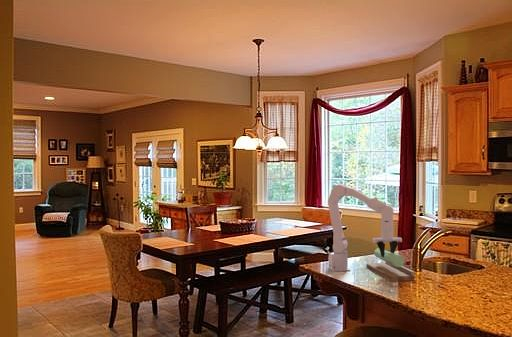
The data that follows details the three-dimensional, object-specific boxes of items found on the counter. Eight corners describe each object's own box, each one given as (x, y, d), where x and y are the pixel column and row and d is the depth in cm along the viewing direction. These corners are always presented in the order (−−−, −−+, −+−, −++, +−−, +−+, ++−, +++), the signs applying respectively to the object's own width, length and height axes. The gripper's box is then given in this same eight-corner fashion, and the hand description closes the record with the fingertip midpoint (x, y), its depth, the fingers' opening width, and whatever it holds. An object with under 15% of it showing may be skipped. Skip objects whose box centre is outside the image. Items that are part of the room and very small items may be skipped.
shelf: (390, 281, 209) (390, 272, 209) (366, 267, 236) (366, 259, 236) (414, 280, 210) (414, 271, 210) (388, 266, 238) (387, 259, 238)
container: (374, 245, 235) (395, 252, 211) (384, 249, 236) (406, 257, 211) (370, 255, 235) (390, 264, 210) (380, 259, 236) (401, 269, 211)
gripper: (376, 230, 218) (376, 258, 218) (404, 230, 220) (404, 257, 220) (370, 228, 225) (371, 255, 225) (398, 228, 227) (398, 254, 227)
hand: (387, 256), depth 223 cm, fingers closed on container, 4 cm apart
